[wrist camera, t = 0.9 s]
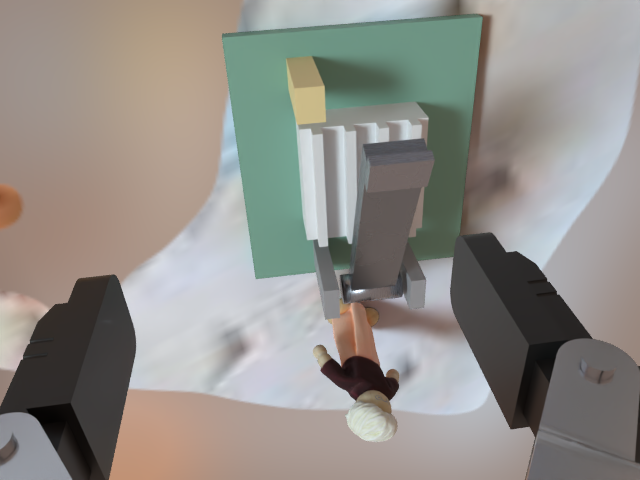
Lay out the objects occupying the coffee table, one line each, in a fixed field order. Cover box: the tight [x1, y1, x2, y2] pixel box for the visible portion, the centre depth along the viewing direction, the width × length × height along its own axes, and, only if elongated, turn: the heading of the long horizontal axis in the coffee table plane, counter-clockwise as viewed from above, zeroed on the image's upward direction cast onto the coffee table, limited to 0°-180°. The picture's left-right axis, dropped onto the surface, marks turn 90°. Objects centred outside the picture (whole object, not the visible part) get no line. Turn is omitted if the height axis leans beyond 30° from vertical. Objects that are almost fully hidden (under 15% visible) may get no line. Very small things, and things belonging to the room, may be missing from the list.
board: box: [222, 14, 483, 320], centre depth 36 cm, size 18×16×8 cm
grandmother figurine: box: [313, 299, 399, 442], centre depth 42 cm, size 8×4×13 cm, turn 71°
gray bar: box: [340, 138, 435, 304], centre depth 32 cm, size 16×4×2 cm, turn 2°
